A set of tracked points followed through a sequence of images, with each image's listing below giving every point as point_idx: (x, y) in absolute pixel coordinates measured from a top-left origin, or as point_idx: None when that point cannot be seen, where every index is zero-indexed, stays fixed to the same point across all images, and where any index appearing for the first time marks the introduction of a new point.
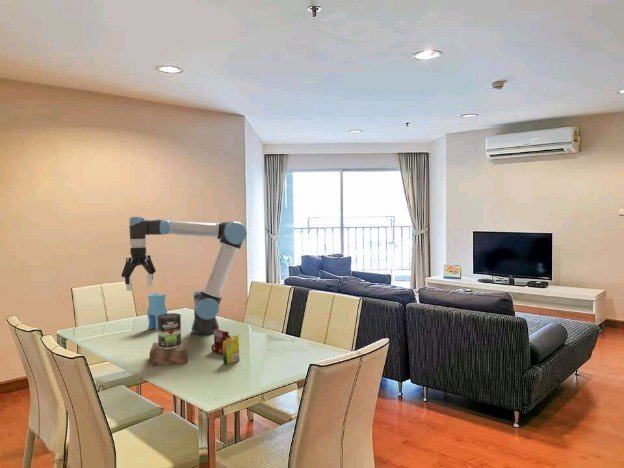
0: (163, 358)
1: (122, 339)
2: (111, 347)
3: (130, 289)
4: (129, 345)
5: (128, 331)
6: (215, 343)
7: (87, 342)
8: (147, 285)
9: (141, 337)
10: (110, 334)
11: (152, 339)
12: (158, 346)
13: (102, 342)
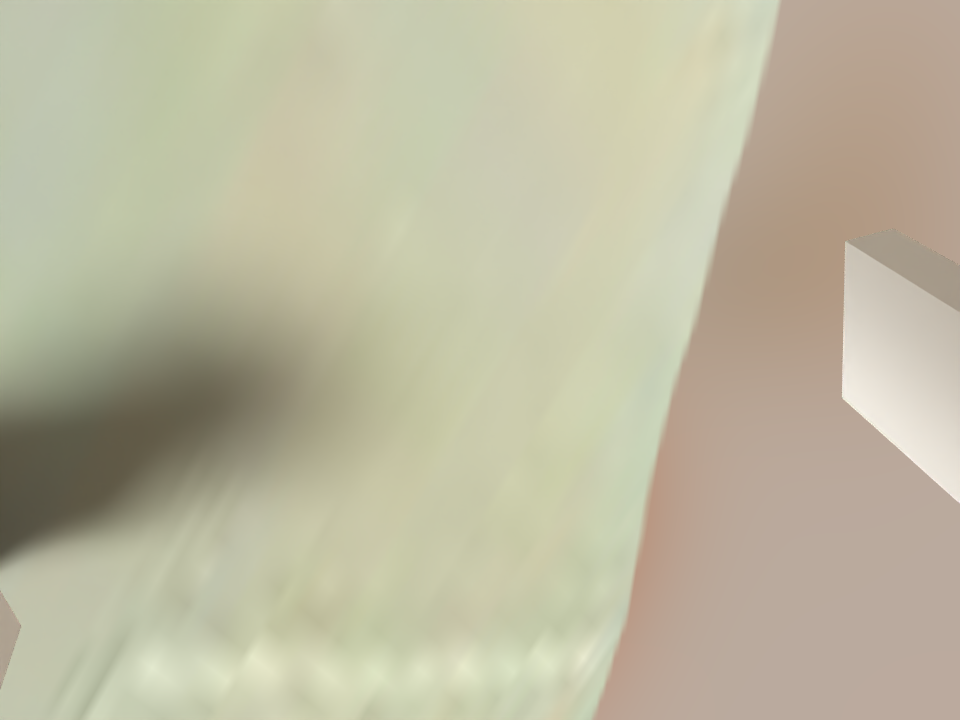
0: None
1: (366, 410)
2: (591, 224)
3: (913, 249)
4: (443, 138)
5: (175, 631)
6: None
7: (610, 538)
8: (11, 646)
9: (186, 334)
10: (350, 641)
11: (130, 151)
12: None
13: (539, 450)
